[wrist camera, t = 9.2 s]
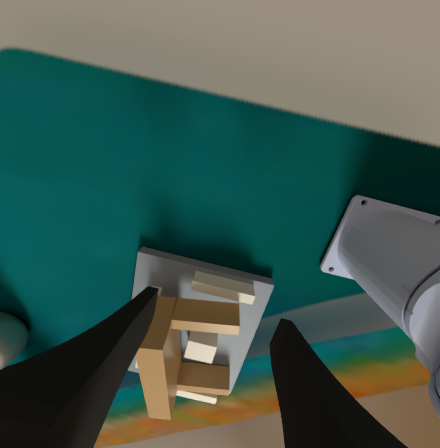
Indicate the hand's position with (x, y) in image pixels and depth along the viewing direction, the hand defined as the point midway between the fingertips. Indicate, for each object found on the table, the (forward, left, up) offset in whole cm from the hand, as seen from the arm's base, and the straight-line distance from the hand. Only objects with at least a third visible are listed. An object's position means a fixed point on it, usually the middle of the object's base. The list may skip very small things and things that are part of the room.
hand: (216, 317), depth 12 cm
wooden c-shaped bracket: (0, +11, -8) cm, 13 cm away
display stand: (+1, +11, -10) cm, 15 cm away
